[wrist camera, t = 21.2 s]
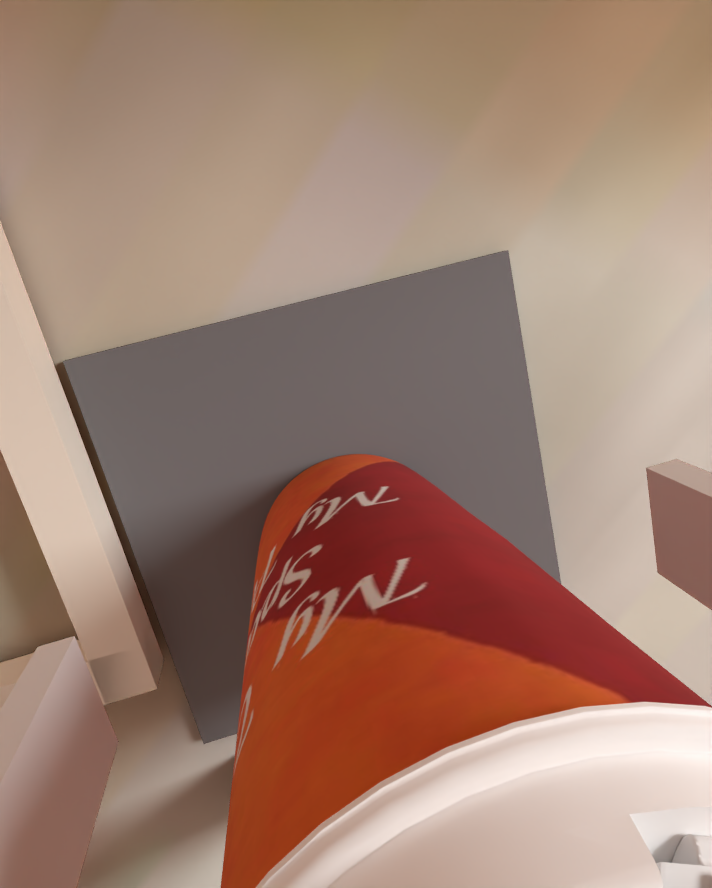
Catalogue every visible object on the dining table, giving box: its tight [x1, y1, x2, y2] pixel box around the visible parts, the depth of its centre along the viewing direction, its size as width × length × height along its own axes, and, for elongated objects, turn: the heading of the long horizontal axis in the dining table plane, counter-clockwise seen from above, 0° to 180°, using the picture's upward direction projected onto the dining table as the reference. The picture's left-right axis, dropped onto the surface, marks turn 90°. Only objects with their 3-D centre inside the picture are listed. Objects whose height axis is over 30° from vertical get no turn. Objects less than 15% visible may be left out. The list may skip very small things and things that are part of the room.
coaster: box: [63, 251, 561, 744], centre depth 19 cm, size 13×13×1 cm
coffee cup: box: [221, 454, 712, 888], centre depth 12 cm, size 8×8×15 cm
